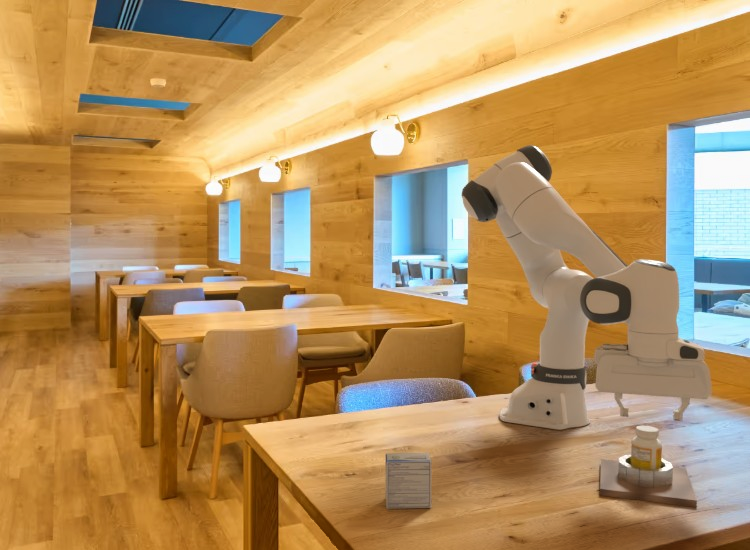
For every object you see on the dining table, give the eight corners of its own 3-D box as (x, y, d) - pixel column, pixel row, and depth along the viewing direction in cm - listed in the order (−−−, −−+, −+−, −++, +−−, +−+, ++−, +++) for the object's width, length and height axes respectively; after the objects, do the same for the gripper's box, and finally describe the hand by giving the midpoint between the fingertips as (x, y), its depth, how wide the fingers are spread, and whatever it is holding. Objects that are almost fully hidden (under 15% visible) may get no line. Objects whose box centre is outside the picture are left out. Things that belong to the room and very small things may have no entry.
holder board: (600, 495, 121) (600, 472, 121) (600, 464, 137) (601, 444, 137) (696, 507, 116) (697, 483, 115) (685, 474, 132) (686, 453, 131)
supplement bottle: (639, 483, 123) (640, 432, 123) (625, 473, 128) (626, 424, 128) (666, 482, 124) (668, 432, 123) (651, 472, 129) (652, 424, 129)
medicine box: (428, 499, 119) (429, 451, 119) (431, 509, 115) (432, 460, 114) (385, 499, 119) (385, 452, 118) (386, 509, 114) (386, 460, 114)
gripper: (594, 345, 125) (593, 417, 126) (714, 351, 119) (712, 427, 119) (594, 340, 131) (592, 409, 132) (708, 346, 124) (706, 418, 125)
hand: (650, 418), depth 125 cm, fingers open, 8 cm apart
